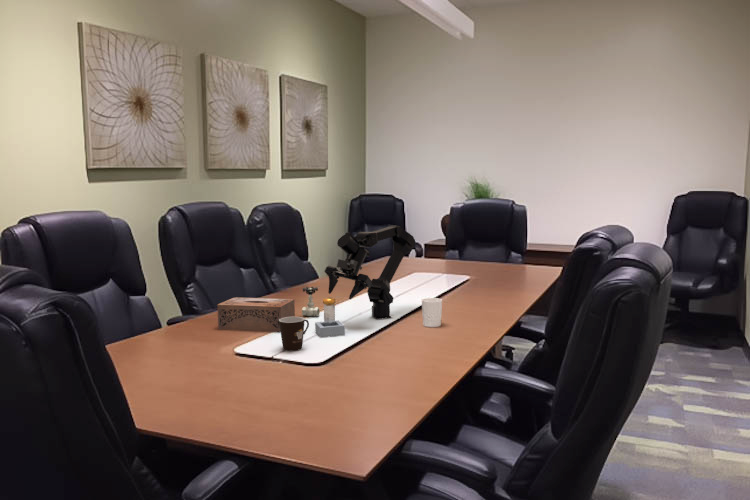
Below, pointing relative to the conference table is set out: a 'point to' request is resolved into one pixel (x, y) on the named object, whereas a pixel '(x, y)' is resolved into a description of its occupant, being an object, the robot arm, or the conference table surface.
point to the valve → (310, 303)
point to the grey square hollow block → (329, 329)
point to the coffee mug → (292, 332)
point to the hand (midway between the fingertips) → (339, 296)
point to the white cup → (431, 312)
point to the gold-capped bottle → (329, 311)
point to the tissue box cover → (254, 314)
